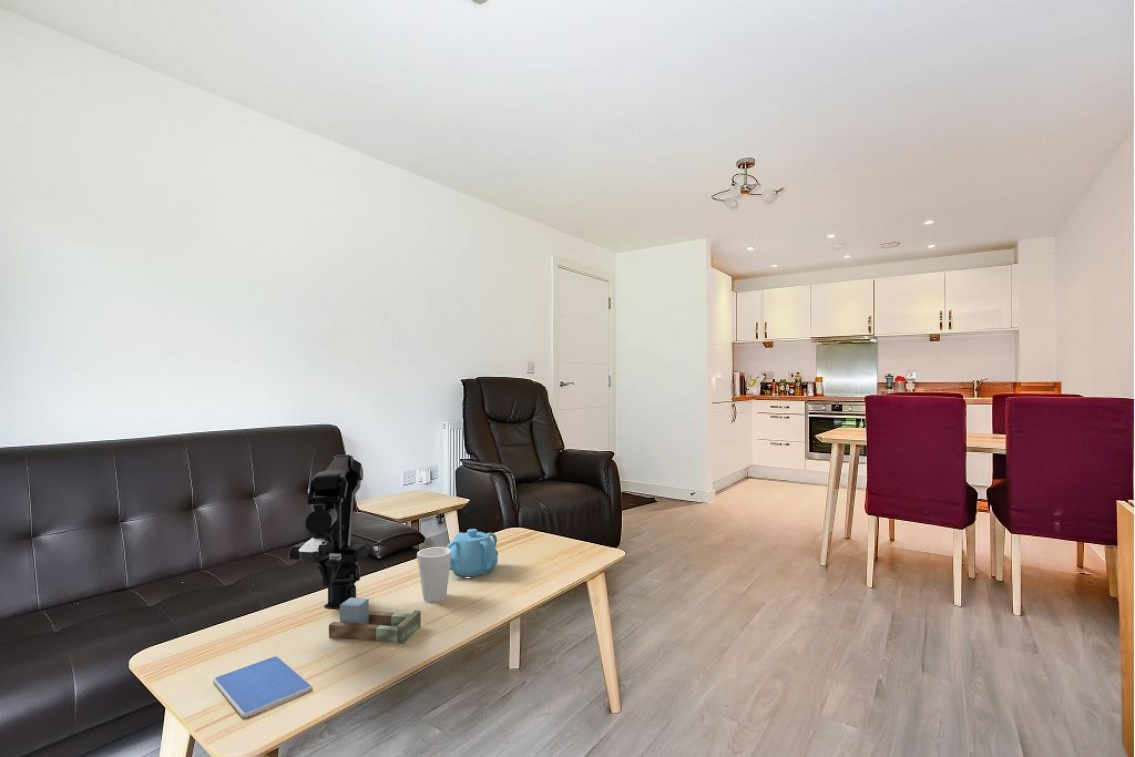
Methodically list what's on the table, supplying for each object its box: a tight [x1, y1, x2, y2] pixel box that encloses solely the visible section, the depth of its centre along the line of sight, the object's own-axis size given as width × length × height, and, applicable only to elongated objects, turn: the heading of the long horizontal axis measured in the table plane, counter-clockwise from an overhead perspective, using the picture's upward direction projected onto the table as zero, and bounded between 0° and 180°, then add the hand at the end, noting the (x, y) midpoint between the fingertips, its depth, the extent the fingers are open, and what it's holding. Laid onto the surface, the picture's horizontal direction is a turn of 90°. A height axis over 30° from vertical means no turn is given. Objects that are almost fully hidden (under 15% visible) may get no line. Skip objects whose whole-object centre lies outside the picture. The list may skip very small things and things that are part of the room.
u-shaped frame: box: [328, 609, 422, 645], centre depth 129 cm, size 19×9×4 cm, turn 79°
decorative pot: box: [446, 528, 499, 578], centre depth 170 cm, size 16×16×14 cm
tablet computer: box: [212, 655, 313, 718], centre depth 106 cm, size 19×13×1 cm, turn 48°
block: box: [339, 597, 370, 624], centre depth 130 cm, size 5×4×7 cm
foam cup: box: [416, 546, 451, 603], centre depth 149 cm, size 10×9×13 cm
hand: (329, 586), depth 131 cm, fingers closed
